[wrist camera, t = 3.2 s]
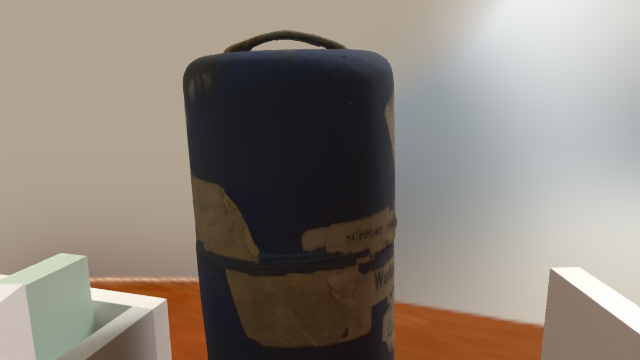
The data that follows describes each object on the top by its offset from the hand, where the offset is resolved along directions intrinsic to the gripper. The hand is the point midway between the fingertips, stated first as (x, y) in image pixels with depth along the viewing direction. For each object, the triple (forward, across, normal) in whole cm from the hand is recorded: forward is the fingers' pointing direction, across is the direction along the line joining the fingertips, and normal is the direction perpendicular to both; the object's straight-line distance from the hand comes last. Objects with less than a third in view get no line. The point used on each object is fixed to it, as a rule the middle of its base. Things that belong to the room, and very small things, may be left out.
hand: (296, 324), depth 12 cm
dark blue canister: (+11, 0, -10) cm, 15 cm away
